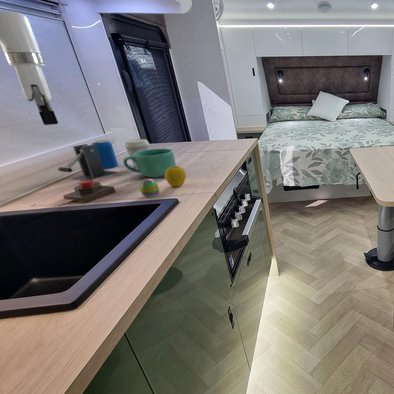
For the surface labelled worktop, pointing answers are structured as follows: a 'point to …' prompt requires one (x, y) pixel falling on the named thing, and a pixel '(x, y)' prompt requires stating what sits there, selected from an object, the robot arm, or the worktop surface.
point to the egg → (149, 188)
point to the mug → (152, 162)
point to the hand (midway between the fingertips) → (51, 124)
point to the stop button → (86, 183)
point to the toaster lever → (72, 162)
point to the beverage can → (106, 153)
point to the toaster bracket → (90, 163)
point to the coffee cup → (136, 147)
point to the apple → (175, 175)
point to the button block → (89, 193)
